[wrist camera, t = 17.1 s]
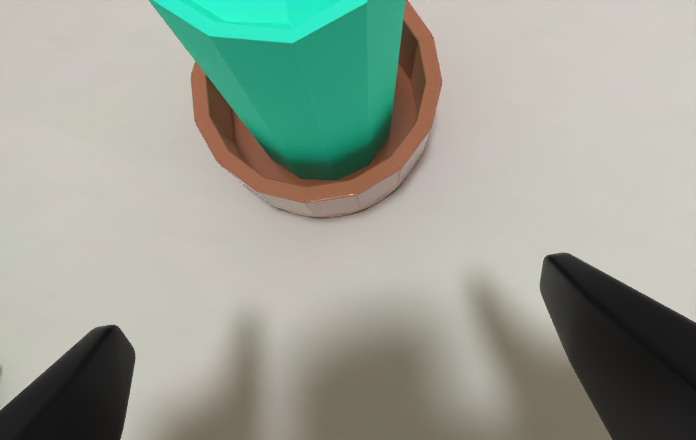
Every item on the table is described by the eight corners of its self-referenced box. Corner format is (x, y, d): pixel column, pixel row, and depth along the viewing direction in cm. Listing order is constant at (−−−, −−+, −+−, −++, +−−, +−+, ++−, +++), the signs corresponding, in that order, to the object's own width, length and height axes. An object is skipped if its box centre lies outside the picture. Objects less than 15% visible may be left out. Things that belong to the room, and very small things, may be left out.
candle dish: (467, 148, 19) (490, 115, 15) (286, 257, 18) (265, 249, 15) (359, -10, 20) (356, -74, 16) (190, 88, 20) (150, 44, 16)
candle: (410, 74, 19) (480, -304, 7) (366, 200, 18) (357, 24, 6) (284, 36, 19) (145, -369, 7) (236, 157, 18) (-8, -81, 7)
